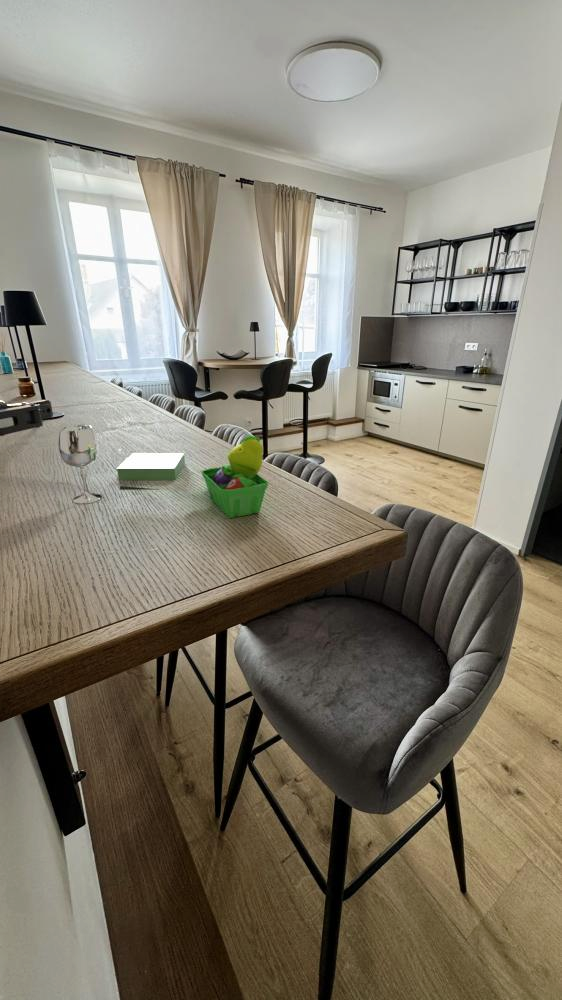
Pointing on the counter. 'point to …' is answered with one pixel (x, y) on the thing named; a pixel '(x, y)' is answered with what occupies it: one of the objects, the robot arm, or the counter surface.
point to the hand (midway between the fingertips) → (21, 407)
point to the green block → (150, 467)
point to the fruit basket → (238, 480)
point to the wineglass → (79, 454)
